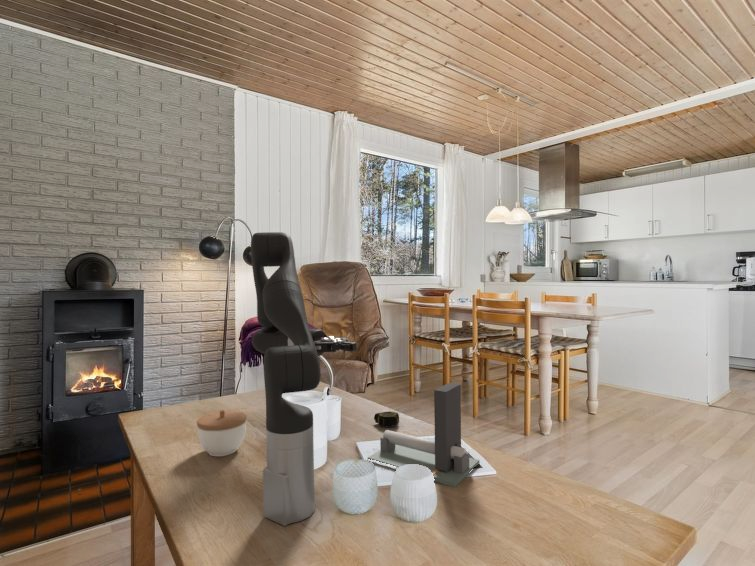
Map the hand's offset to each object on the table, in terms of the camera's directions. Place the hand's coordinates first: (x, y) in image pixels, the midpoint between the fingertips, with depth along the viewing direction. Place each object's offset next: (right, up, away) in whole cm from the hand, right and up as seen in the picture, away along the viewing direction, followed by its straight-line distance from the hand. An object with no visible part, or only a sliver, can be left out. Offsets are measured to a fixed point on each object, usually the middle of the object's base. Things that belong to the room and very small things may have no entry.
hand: (354, 347), depth 115 cm
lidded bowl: (-36, -29, +2) cm, 46 cm away
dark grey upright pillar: (+23, -27, -11) cm, 37 cm away
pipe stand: (+17, -28, -6) cm, 34 cm away
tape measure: (+9, -28, +21) cm, 36 cm away
